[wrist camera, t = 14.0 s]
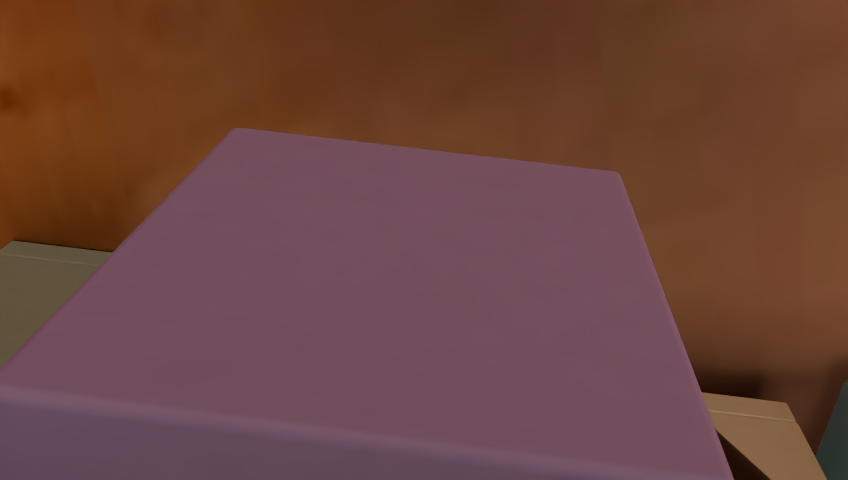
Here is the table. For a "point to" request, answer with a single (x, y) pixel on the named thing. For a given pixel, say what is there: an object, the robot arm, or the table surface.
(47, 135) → the table surface
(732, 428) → the drawer
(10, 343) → the green drawer cabinet
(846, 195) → the table surface
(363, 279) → the mauve rounded cube
